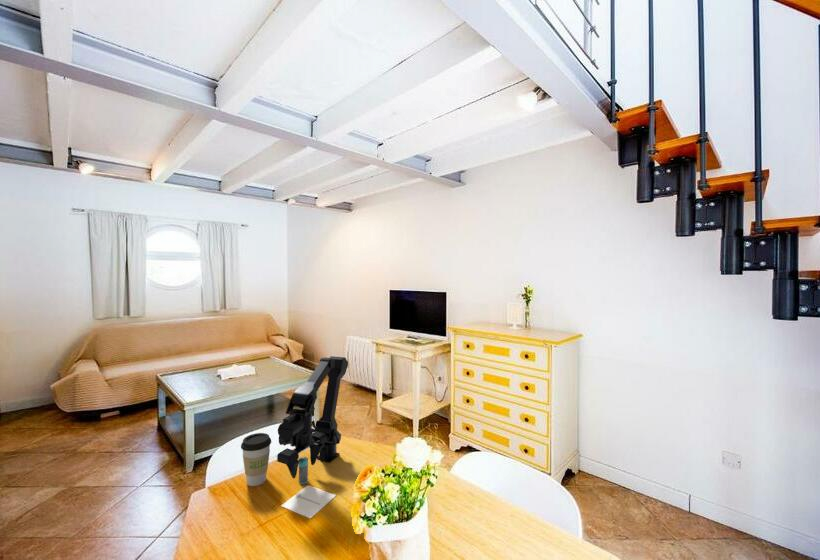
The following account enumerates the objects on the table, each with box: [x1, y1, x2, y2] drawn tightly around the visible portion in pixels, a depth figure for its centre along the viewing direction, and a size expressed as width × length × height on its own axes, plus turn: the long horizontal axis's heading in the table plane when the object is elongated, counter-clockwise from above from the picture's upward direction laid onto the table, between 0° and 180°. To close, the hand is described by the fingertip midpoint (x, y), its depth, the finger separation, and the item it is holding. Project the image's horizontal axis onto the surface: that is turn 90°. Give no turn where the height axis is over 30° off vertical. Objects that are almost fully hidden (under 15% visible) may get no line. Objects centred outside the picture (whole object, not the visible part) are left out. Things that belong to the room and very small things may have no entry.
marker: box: [298, 456, 309, 485], centre depth 124 cm, size 3×3×8 cm
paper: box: [280, 485, 337, 519], centre depth 114 cm, size 12×12×1 cm
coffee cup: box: [240, 432, 272, 487], centre depth 125 cm, size 10×10×15 cm
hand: (303, 471), depth 124 cm, fingers open, 9 cm apart
